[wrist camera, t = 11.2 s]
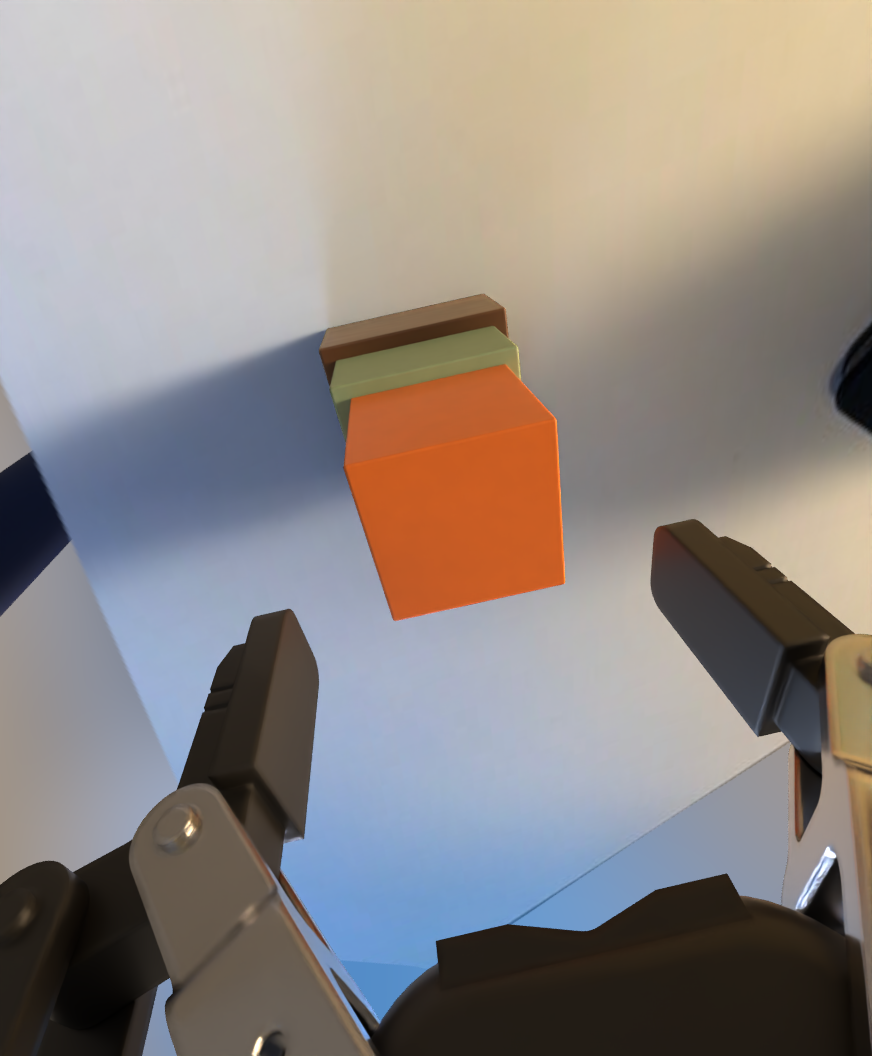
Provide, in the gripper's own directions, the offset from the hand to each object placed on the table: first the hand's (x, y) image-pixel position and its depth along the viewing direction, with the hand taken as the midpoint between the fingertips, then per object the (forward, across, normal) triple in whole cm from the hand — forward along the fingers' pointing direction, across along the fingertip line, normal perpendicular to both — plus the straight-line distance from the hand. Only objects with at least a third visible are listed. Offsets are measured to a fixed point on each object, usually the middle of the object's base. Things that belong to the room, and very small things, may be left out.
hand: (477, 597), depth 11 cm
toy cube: (+7, 0, 0) cm, 7 cm away
